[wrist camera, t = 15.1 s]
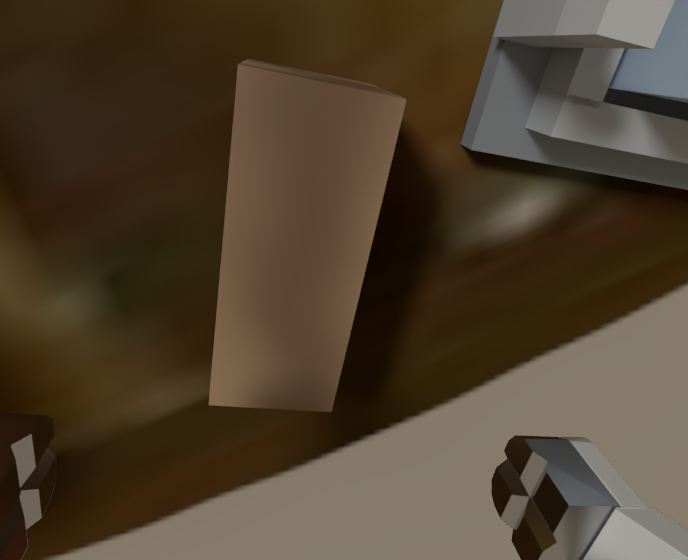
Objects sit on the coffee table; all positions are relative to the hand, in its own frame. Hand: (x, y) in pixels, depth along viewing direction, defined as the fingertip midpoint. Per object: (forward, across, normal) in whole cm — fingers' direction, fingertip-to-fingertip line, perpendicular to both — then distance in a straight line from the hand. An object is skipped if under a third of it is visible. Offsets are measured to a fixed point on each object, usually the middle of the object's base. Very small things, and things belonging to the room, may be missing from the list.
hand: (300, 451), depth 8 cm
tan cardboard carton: (+10, 0, -1) cm, 10 cm away
